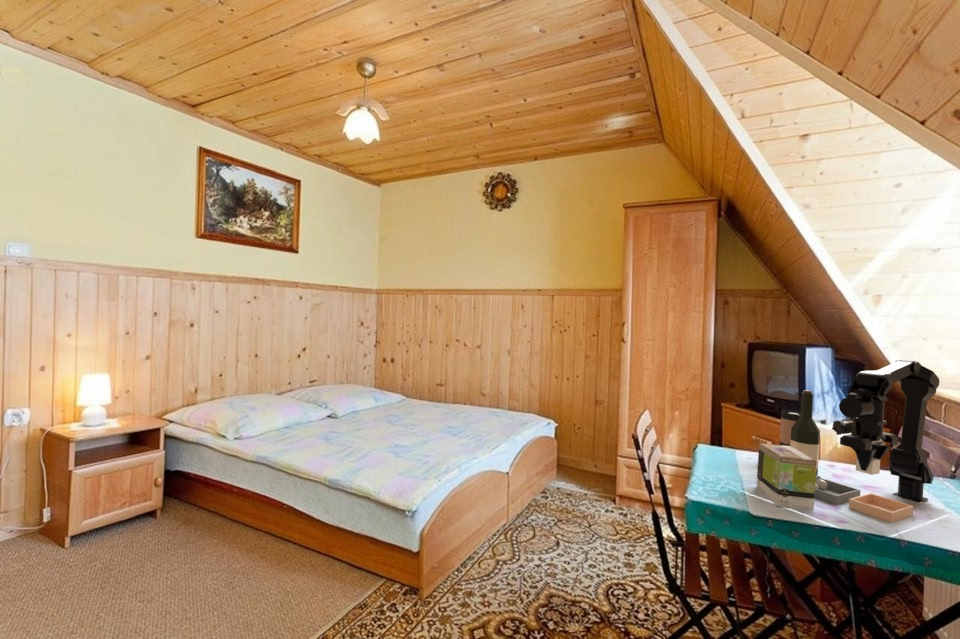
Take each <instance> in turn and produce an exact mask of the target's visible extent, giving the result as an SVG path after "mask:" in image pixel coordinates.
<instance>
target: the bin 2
mask: <svg viewBox="0 0 960 639" xmlns="http://www.w3.org/2000/svg"><path fill="white" fill-rule="evenodd" d="M848 509H851V510H855V511H858V512H861V513H864V514H866V515H869V516H872V517H874V518H877V519H880V520H884V521H886V522H889V523H895V522H898V521H900V520H901V521H902V520H903V519H906V518H909V517H912V516H913V515H914V506H913V505H911V504H907V503H904V502H901V501H897V500H895V499H891V498H888V497H885V496H882V495H877V494H875V493H872V492H869V493H866V494H862V495H860V496H858V497H854V498H851V499H849V502H848Z"/></svg>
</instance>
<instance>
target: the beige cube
mask: <svg viewBox="0 0 960 639" xmlns="http://www.w3.org/2000/svg"><path fill="white" fill-rule="evenodd" d="M880 470H881V460H880V459H876V458H872V460H871V462H870V464H869V466H868V468H867V470H866V471H864V470H861V467H860V464H859V461H858V458H857V456H856V457H855V471H856V472H860V473H863V474H867V475H871V476H873V475H878V474H879V475H880V473H881V472H880Z"/></svg>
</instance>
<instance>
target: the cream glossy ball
mask: <svg viewBox="0 0 960 639" xmlns="http://www.w3.org/2000/svg"><path fill="white" fill-rule="evenodd" d="M815 483H816V484H817V485H818V487H819V489H820V490H825V489H826V488H827V483H826V482H825V481H824V480H822V479H818V480H816V482H815Z"/></svg>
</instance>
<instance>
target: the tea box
mask: <svg viewBox="0 0 960 639" xmlns="http://www.w3.org/2000/svg"><path fill="white" fill-rule="evenodd" d="M757 458H758V459H757V475H756V488H757V489H758V491H759V490H760V492H762V493H763V494H764V495H765V496H766V497H767V498H768V499H769V500H770V501H771V502H772V503H773V504H774V505H776V507H780V508H788V509H790V508H797V509H798V508H799V509H809V510H814V509H815V497H814V496H815V482H816V467H817V460H816V459H814V458H812V457H810V456H809V455H807V454H805V453H803V452H801V451H799V450H798V449H796V448H794V447H792V446H783V445H780V444H772V443H771V444H770V443H758V457H757Z"/></svg>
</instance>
